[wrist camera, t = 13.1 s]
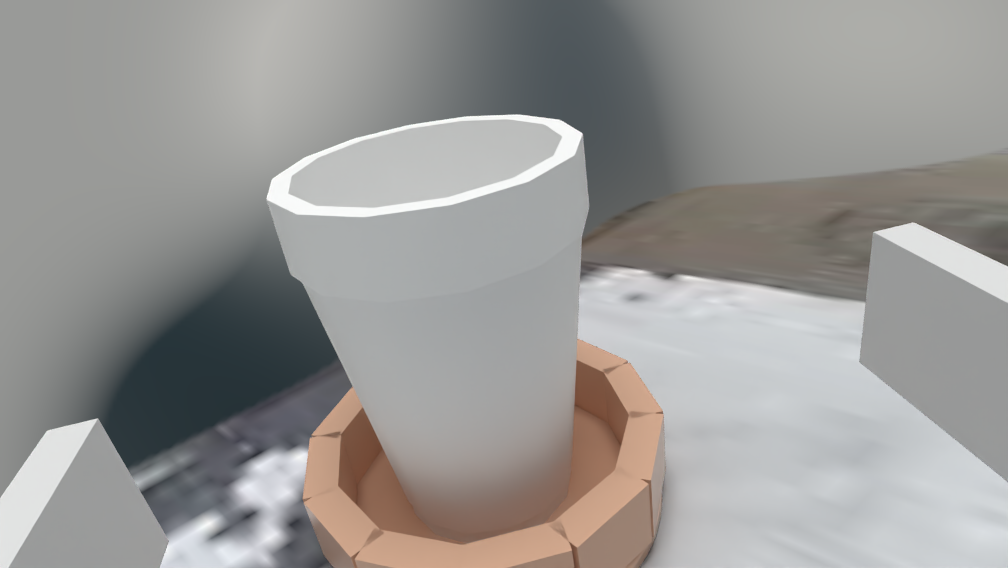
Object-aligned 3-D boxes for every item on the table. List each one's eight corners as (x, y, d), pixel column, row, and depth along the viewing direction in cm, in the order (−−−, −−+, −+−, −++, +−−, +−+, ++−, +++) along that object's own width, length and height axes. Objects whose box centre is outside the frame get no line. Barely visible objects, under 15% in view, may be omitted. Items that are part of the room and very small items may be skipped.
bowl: (598, 367, 32) (593, 308, 31) (727, 585, 21) (729, 508, 19) (337, 428, 31) (318, 370, 29) (321, 699, 19) (287, 625, 18)
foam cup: (418, 400, 31) (349, 127, 25) (616, 403, 28) (593, 104, 22) (331, 572, 23) (198, 226, 17) (599, 596, 20) (555, 206, 14)
